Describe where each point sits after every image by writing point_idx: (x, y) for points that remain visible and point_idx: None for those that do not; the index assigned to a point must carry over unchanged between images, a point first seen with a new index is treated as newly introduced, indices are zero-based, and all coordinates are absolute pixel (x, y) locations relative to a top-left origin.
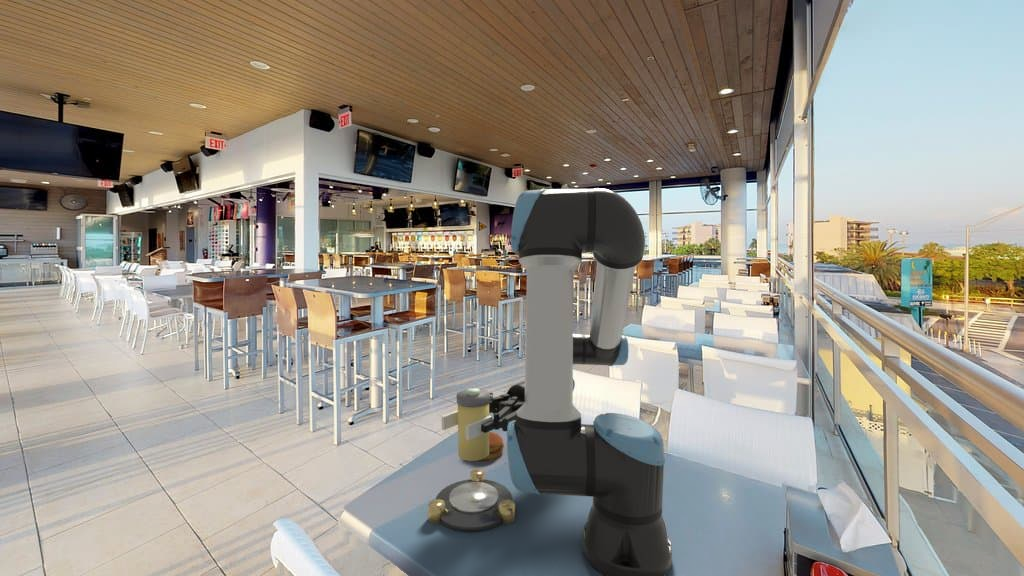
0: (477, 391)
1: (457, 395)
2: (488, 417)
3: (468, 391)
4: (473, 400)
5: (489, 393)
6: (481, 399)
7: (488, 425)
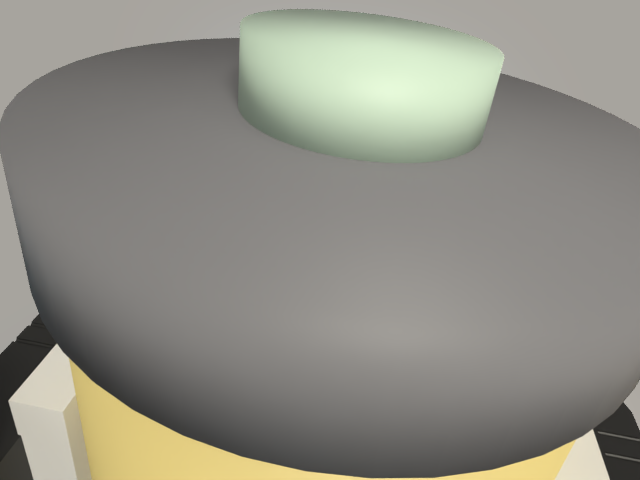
0: (264, 24)
1: (504, 76)
2: (60, 358)
3: (399, 18)
4: (210, 44)
5: (30, 169)
6: (113, 54)
7: (39, 321)
